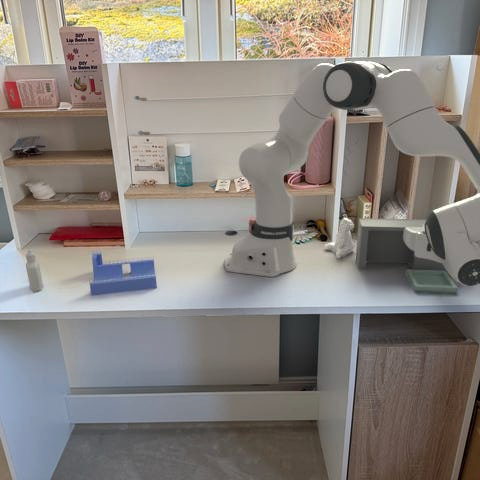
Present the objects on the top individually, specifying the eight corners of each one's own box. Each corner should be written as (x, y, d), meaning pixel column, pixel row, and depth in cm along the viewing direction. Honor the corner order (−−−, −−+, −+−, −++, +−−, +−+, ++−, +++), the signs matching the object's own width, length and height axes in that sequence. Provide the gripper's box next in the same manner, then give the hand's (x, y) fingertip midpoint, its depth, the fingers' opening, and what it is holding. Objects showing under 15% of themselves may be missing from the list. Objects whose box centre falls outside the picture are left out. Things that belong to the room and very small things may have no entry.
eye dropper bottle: (24, 292, 132) (16, 253, 128) (34, 283, 137) (27, 245, 133) (39, 292, 132) (31, 253, 127) (48, 283, 137) (41, 245, 133)
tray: (414, 292, 128) (415, 286, 128) (406, 274, 138) (406, 269, 138) (456, 293, 127) (457, 287, 126) (444, 276, 137) (445, 270, 136)
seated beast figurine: (322, 249, 158) (324, 215, 154) (344, 245, 161) (346, 212, 157) (337, 259, 150) (340, 224, 146) (360, 255, 153) (363, 220, 149)
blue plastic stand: (91, 296, 130) (88, 273, 127) (95, 272, 145) (92, 250, 142) (156, 289, 133) (154, 266, 131) (154, 266, 148) (152, 245, 146)
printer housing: (358, 270, 142) (362, 226, 137) (355, 259, 149) (359, 218, 144) (454, 273, 139) (462, 229, 134) (447, 262, 146) (453, 220, 141)
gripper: (499, 235, 112) (479, 217, 125) (411, 233, 115) (400, 215, 127) (495, 259, 114) (475, 239, 127) (408, 256, 117) (398, 237, 130)
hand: (437, 227), depth 127 cm, fingers closed on supplement bottle, 5 cm apart
